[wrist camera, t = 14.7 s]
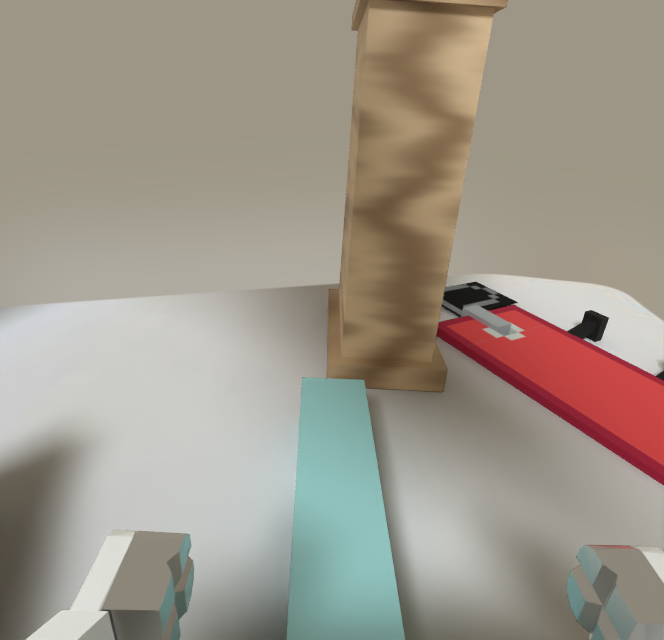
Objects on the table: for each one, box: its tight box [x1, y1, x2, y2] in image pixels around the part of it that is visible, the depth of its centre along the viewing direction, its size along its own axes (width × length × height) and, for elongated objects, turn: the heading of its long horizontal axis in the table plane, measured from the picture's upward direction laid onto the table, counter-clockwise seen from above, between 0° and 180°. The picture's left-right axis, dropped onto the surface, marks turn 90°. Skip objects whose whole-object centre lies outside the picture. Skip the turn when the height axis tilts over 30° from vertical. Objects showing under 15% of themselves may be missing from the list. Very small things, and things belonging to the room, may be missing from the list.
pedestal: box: [327, 0, 508, 392], centre depth 37 cm, size 9×15×26 cm, turn 0°
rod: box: [286, 377, 405, 640], centre depth 21 cm, size 4×22×4 cm, turn 1°
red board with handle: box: [437, 282, 664, 485], centre depth 42 cm, size 30×3×15 cm
